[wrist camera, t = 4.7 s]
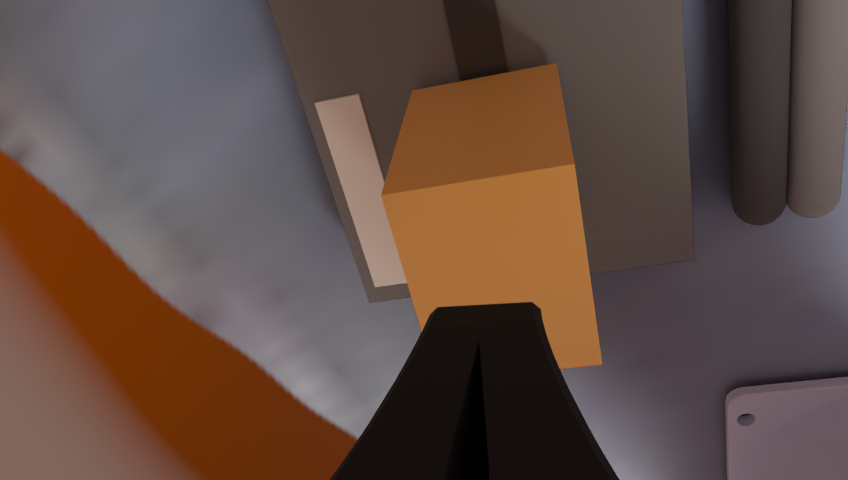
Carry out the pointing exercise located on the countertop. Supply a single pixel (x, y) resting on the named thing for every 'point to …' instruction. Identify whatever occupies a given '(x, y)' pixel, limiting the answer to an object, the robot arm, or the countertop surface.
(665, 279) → the countertop surface
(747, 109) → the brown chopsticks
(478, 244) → the knob
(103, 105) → the countertop surface
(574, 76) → the switch panel
